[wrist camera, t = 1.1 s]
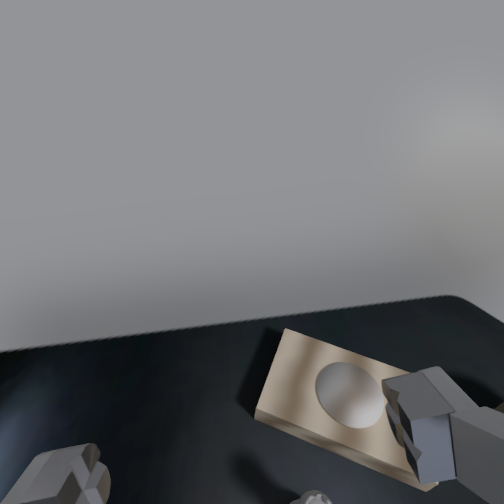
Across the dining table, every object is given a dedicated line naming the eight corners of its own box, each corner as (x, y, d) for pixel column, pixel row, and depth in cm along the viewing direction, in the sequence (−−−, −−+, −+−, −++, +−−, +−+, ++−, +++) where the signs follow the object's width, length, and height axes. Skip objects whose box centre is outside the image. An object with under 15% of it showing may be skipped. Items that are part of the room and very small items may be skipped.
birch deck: (253, 418, 40) (256, 406, 38) (282, 340, 49) (285, 326, 47) (425, 491, 36) (439, 483, 34) (423, 391, 45) (434, 380, 42)
